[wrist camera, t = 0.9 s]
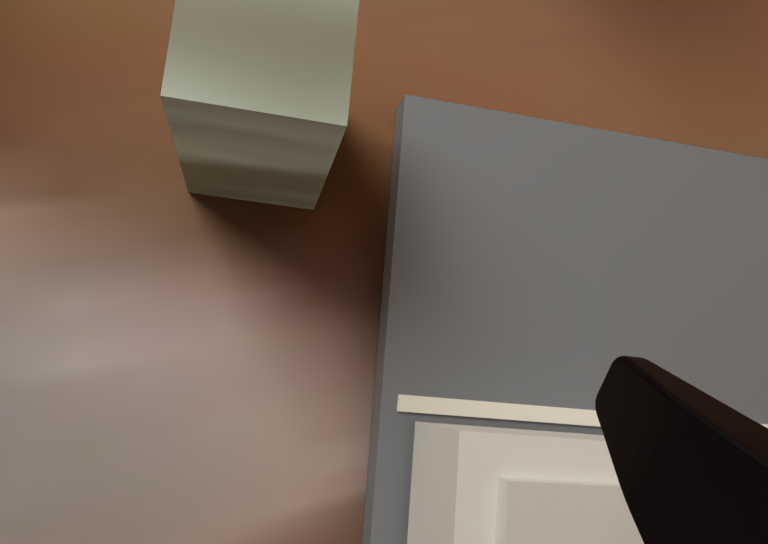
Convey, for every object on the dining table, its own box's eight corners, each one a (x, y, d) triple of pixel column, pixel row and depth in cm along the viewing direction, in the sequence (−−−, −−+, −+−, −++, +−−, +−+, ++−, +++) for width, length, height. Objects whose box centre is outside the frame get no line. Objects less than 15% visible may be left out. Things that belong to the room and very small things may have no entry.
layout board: (836, 737, 21) (873, 758, 20) (345, 753, 18) (352, 781, 17) (805, 180, 25) (834, 169, 24) (396, 109, 22) (405, 93, 21)
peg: (313, 210, 21) (347, 126, 14) (188, 192, 20) (160, 95, 13) (325, 98, 22) (362, -33, 15) (205, 77, 21) (187, -70, 14)
